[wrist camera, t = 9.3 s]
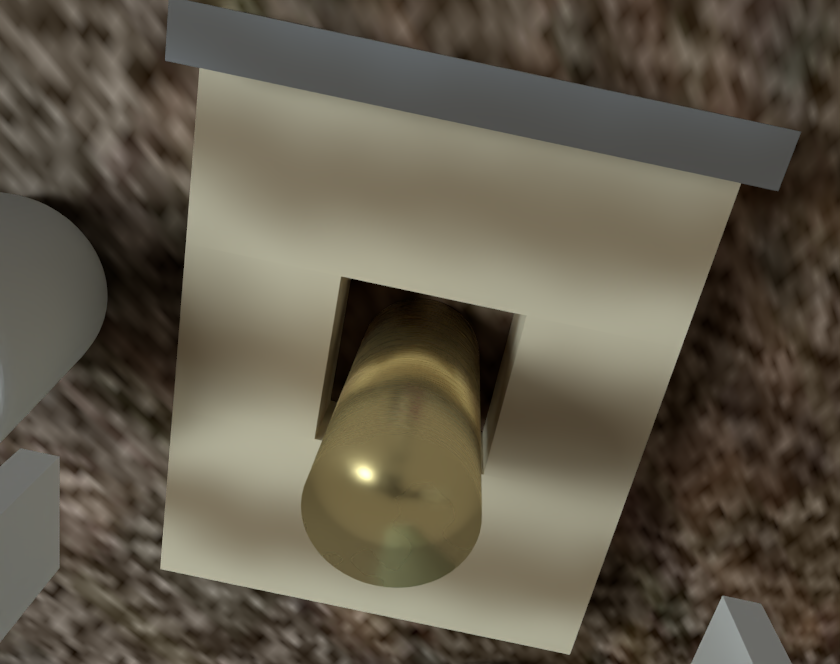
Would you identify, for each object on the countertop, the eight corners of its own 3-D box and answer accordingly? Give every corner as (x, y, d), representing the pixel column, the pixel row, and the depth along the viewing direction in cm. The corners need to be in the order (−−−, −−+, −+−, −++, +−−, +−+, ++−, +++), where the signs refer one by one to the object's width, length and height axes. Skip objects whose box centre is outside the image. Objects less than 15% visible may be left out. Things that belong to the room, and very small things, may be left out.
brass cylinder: (372, 287, 26) (314, 416, 16) (491, 312, 26) (501, 456, 16) (353, 394, 27) (289, 567, 18) (465, 417, 27) (460, 603, 18)
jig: (237, 10, 23) (168, -4, 18) (727, 115, 23) (801, 131, 18) (189, 521, 30) (131, 616, 25) (560, 599, 30) (578, 710, 25)
